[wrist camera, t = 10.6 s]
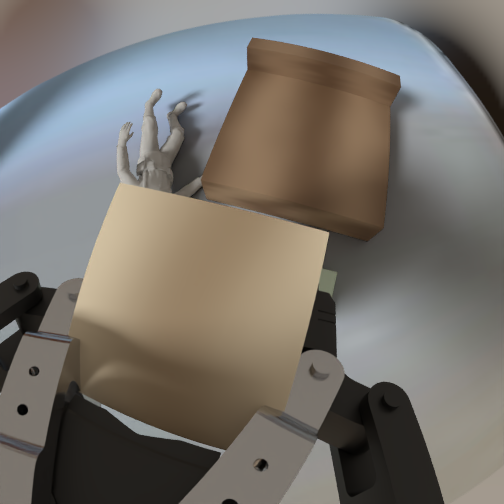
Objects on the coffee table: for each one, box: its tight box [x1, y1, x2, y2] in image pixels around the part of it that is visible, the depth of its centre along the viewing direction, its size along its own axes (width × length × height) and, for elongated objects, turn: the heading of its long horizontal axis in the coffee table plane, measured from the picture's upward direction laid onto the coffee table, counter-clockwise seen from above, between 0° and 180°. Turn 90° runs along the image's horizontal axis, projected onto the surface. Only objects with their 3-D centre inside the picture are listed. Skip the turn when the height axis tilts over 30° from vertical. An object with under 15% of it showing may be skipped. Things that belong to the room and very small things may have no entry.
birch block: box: [68, 183, 329, 450], centre depth 10 cm, size 5×5×8 cm
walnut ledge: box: [201, 38, 401, 241], centre depth 20 cm, size 12×12×6 cm
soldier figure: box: [117, 89, 202, 198], centre depth 20 cm, size 8×5×12 cm
